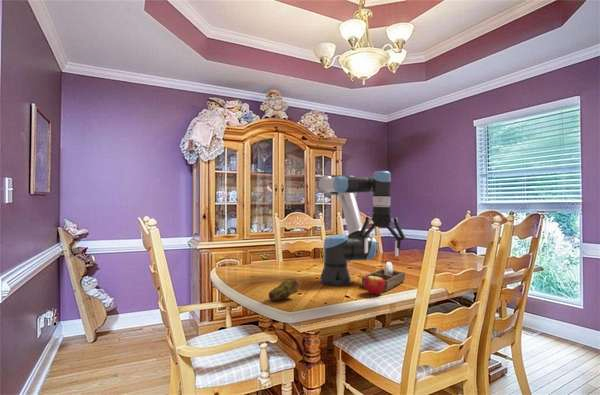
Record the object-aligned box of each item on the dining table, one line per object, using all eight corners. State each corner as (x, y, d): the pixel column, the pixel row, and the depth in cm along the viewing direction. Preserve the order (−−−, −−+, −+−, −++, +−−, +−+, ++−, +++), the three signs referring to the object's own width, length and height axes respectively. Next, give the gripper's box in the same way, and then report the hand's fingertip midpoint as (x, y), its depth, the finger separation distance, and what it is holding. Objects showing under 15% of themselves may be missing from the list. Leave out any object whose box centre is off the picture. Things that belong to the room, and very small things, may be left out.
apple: (364, 290, 147) (364, 268, 147) (383, 291, 146) (383, 269, 146) (365, 296, 139) (365, 272, 139) (385, 296, 138) (385, 273, 138)
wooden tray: (362, 287, 153) (362, 277, 153) (381, 278, 172) (381, 269, 172) (387, 291, 146) (387, 281, 146) (404, 281, 164) (404, 272, 164)
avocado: (266, 297, 136) (266, 278, 136) (296, 295, 139) (296, 276, 139) (269, 303, 128) (269, 283, 128) (301, 301, 131) (301, 281, 131)
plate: (384, 281, 160) (384, 263, 160) (391, 278, 167) (391, 260, 167) (385, 281, 159) (385, 263, 159) (392, 278, 166) (392, 260, 167)
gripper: (351, 205, 146) (351, 252, 147) (408, 207, 134) (408, 258, 134) (357, 205, 153) (357, 250, 153) (412, 206, 140) (412, 255, 140)
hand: (381, 254), depth 143 cm, fingers open, 13 cm apart
